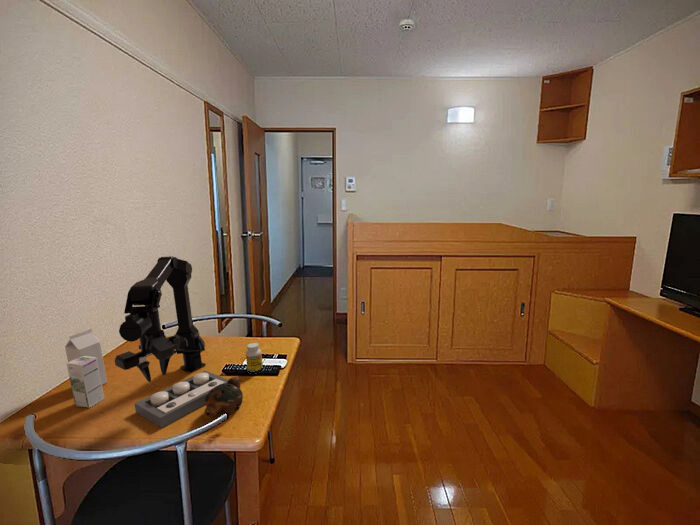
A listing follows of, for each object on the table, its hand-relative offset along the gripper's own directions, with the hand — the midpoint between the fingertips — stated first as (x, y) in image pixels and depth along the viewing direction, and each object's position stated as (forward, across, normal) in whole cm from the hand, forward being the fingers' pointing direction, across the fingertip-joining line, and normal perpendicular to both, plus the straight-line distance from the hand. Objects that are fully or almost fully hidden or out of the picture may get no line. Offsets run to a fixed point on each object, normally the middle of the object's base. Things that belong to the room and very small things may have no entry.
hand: (156, 378), depth 117 cm
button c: (+7, +14, 0) cm, 16 cm away
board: (+10, +7, -2) cm, 12 cm away
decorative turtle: (+10, +10, -17) cm, 22 cm away
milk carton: (+10, -5, +35) cm, 37 cm away
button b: (+8, +7, 0) cm, 10 cm away
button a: (+7, 0, 0) cm, 7 cm away
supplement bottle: (+10, +32, -5) cm, 34 cm away
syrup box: (+10, -10, +23) cm, 27 cm away
